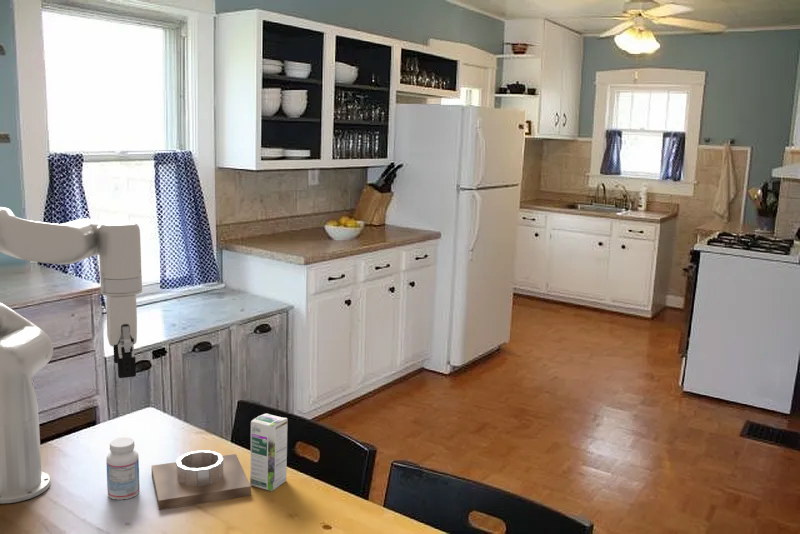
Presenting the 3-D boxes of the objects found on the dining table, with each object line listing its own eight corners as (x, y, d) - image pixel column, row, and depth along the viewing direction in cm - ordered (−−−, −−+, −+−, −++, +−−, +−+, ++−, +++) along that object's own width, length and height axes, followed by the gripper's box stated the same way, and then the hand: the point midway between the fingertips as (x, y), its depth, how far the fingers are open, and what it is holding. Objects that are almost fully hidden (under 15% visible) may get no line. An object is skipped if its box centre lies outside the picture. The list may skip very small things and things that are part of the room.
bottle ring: (180, 489, 146) (179, 472, 145) (174, 469, 154) (174, 454, 154) (226, 482, 150) (226, 466, 149) (218, 463, 158) (218, 448, 157)
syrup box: (249, 485, 153) (249, 420, 150) (265, 474, 158) (266, 411, 155) (271, 492, 150) (272, 426, 148) (287, 480, 155) (288, 416, 153)
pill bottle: (117, 485, 151) (115, 434, 149) (145, 488, 150) (143, 437, 148) (101, 499, 145) (99, 446, 143) (130, 502, 144) (128, 449, 142)
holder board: (158, 510, 142) (158, 500, 141) (151, 474, 156) (151, 465, 156) (250, 495, 149) (250, 486, 148) (235, 462, 163) (235, 454, 163)
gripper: (97, 277, 147) (101, 358, 150) (103, 295, 132) (107, 385, 135) (137, 275, 150) (139, 355, 153) (147, 293, 135) (150, 380, 138)
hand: (124, 369), depth 144 cm, fingers open, 9 cm apart
